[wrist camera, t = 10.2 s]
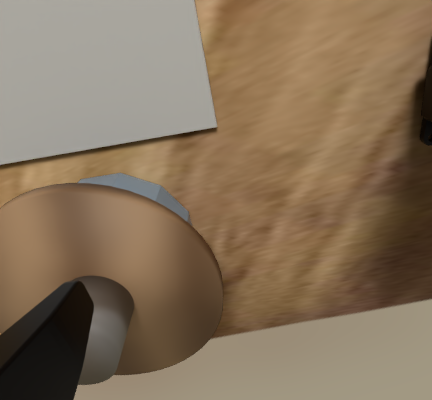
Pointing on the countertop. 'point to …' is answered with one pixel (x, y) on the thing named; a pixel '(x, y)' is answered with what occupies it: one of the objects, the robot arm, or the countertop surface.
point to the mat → (98, 74)
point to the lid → (112, 273)
